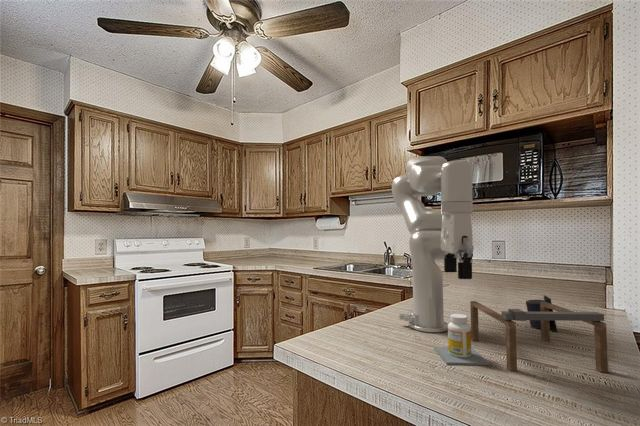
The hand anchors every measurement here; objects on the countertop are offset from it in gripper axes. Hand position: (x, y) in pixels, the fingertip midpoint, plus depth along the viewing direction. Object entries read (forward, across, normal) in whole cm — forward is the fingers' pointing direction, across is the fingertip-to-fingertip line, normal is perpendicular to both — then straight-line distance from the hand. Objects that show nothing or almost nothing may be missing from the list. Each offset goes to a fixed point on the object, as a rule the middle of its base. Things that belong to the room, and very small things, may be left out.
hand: (457, 275), depth 83 cm
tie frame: (+20, -1, +19) cm, 28 cm away
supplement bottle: (+20, +1, 0) cm, 20 cm away
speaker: (+21, -23, +35) cm, 47 cm away
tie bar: (+9, +7, +19) cm, 22 cm away
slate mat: (+20, +1, 0) cm, 20 cm away
